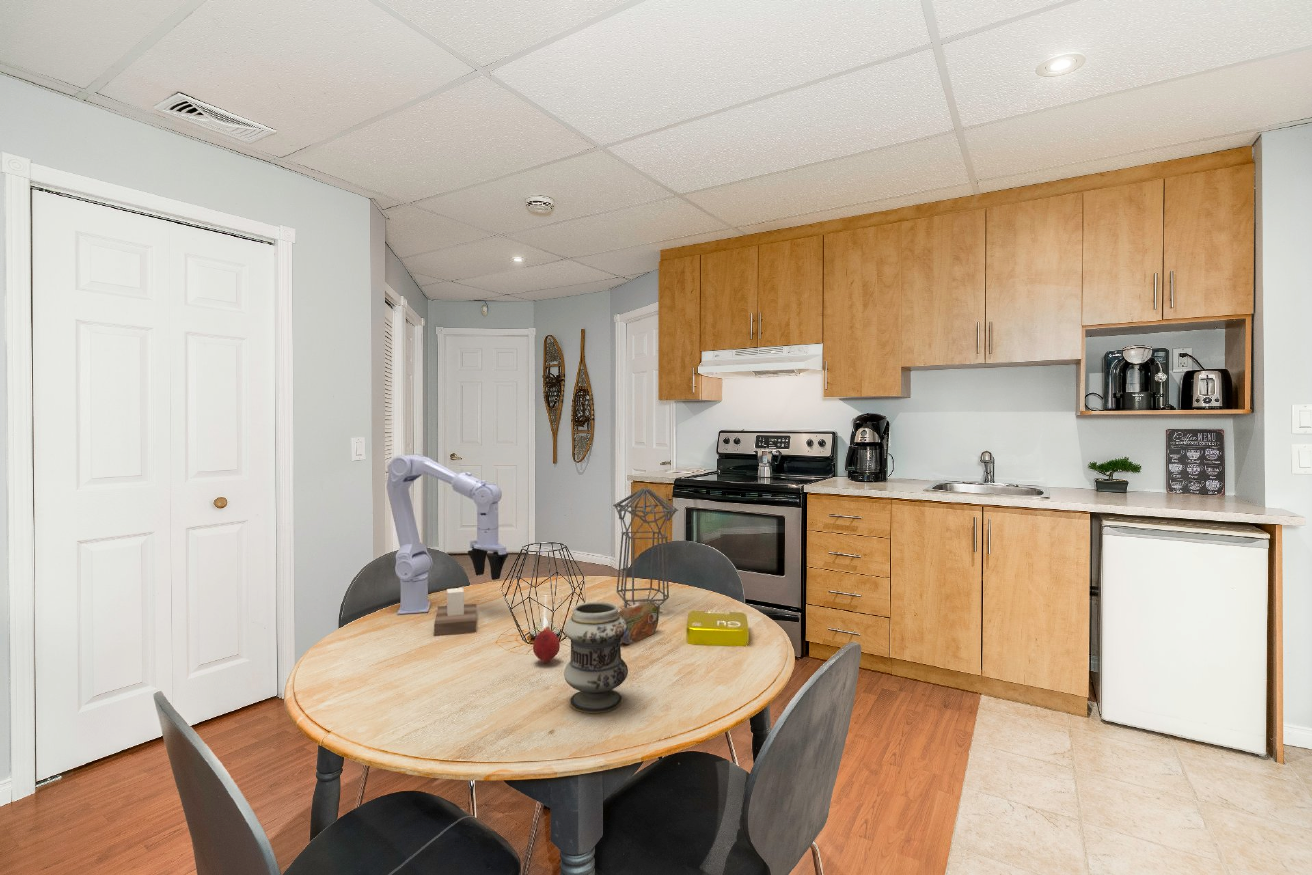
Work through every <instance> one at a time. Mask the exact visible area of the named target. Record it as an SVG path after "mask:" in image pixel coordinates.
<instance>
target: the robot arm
mask: <svg viewBox="0 0 1312 875" xmlns="http://www.w3.org/2000/svg"><path fill="white" fill-rule="evenodd" d="M386 467H387V472H388V476H387V481H386V492H387V495H388V500H389V504H390V508H391V513H392V517H393V518H392V519H393V521H394V522H393V523H394V527H395V531H396V535H397V540H398V544H399V549H398V550H397V552H396V554H395V560H396V561H395V567H394V570H395V574H396V577H398V578H399V581H400V606H399V609H398V610H397V615H405V614H416V613H417V614H419V613H427V612H429V610H430V606H431V601H429V600H428V599H429V596H428V595H429V583H428V581H429V580H428V579H429V572H430V571H431V570H432V568H433V563H434V562H433V558H432V556H431V555H430V554H429V552H428V550H427V547H426V545H424V544H423V543H422V542H421V540H420V536H419V532H418V526H417V521H416V518H415V514H414V509H413V505H412V504H413V503H412V500H411V496H410V491H409V489H410V488H411V486H412V484H413V483H414V482H415V481H416V480H417V479H419V478H420V477H422V475H429V476H430V477H433V478H435V479H437V480H439V481H440V480H441V481H443V482H445V483H447V484H450V485H451V487H452V490H453V491H454V492H456V493H458V494H460V495H462V496H464V497H466V498H468V499H470V500H473V503H474V504H475V505H476V540H470V541H469V549H471V550H469V549H468V550H467V554H468V556H469V558H470V559H471V562H472V564H473V569H474V573H475V575H476V576H477V577H478V576H481V575H484V573H485V567H486V566H485V564H486V559H488V562H489V566H490V576H491V580H493V581H495V580H500V578H501V575H502V570H503V566H504V564H505V562H506V560H507V558H508V557H509V553H508V552H507V546H504V545H502V544H501V543H500V542H499V502H500V501H501V499H502V495H503V493H502V490H501V488H500V487H499V486H498V485H496V484H495V483H493V482H492V483H487V481H486V480H485V479H482V480H481V479H480V478H476V477H474V476H473V474H472V473H471V472H469V471H467V472H460V473H456V472H455V471H453V470H451V469H449V468H447V467H446V466H444V465H443V464H440V463H438V462H436V461H434V460H433V459H432V458H430V457H428V456H424V455H423V454H420V453H419V454H418V453H415V454H409V455H408V454H407V455H406V454H405V455H402V454H398V455H396V456H394V457H393V458H392V459H391V460H390V462H389V464H387V466H386ZM488 553H489V554H488Z"/></svg>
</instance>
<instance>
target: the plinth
mask: <svg viewBox="0 0 1312 875" xmlns="http://www.w3.org/2000/svg"><path fill="white" fill-rule="evenodd" d="M475 632H476V633H477V603H464V615H454V616H448V615H447V605H439V606H437V611H436V615H435V619H434V622H433V637H436V636H437V637H439V636H440V635H441V636H449V635H450V636H451V635H462V634H463V633H465V634H474V633H475ZM476 633H475V634H476Z"/></svg>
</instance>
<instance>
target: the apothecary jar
mask: <svg viewBox="0 0 1312 875" xmlns="http://www.w3.org/2000/svg"><path fill="white" fill-rule="evenodd" d="M618 612H619V608H618V605H617V604H614V603H613V602H608V601H607V602H606V601H590V602H589V601H588V602H584V603H580V604H577V605H575V606H574V607H573V609H572V614H571V617H569V619H568V620H567V621H566V622H565V624H564V628H563V630H564V634H565V637H567V638H568V639H569V640H570V661H569V662H568V663H567V664H566V666H565V668H564V670H563V676H564V680H565V682H566V683H567V684H568V686H570V687H571V688H573V689H574V690H577V692H576V693H574V694H573V695H572V696H571V697H570V700H569V704H570V707H571V708H572V709H573V710H575V711H577V712H581V713H585V714H601V713H608V712H610V711H613V710H615V709H617V708H619V707H620V706H621V704H622V702H623V696H622V694H621V693H619V692H618V691H616V690H614V689H616V688H618V687H619V686H620V685H621V684H623V683H624V682H625V680H626V679H627V678H628V674H629V669H628V665H627V663H626V662H625V660H624V659H622V651H621V650H622V649H621V647H622V646H621V638H622V637H623V636H624V635H625V633H626V631H627V624H626V622H625V620H624V619H623V618H622V617H621V616H619V613H618Z"/></svg>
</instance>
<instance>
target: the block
mask: <svg viewBox="0 0 1312 875" xmlns="http://www.w3.org/2000/svg"><path fill="white" fill-rule="evenodd" d="M464 602H465V591H464V588H463V587H460V588H456V587H455V588H447V589H446V606H447V615H448V616H454V615H464V604H465V603H464Z"/></svg>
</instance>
